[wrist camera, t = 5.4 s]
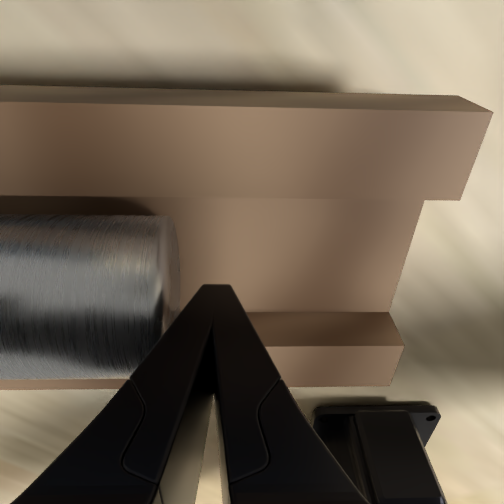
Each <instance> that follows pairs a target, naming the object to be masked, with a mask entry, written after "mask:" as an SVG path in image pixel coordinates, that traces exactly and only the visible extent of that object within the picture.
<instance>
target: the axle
mask: <svg viewBox="0 0 504 504" xmlns="http://www.w3.org/2000/svg"><path fill="white" fill-rule="evenodd" d="M179 311H180V259H179V248H178V240H177V234H176V229H175V225H174V223H173V220H172V218H171V217H170V216H134V215H43V214H0V380H37V379H129V377H130V376H131V374H132V373H133V372H134V371H135V369H136V368H137V367H138V365H139V364H140V363H141V362H142V360H143V359H144V358H145V357H146V355H147V354H148V353H149V352H150V350H151V349H152V348H153V346H154V345H155V344H156V343H157V341H158V340H159V339H160V338H161V336H162V335H163V334H164V333H165V331H166V330H167V329H168V327H169V326H170V325H171V324H172V322H173V321H174V320H175V319H176V317H177V316H178V315H179Z"/></svg>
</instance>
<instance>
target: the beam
mask: <svg viewBox="0 0 504 504" xmlns="http://www.w3.org/2000/svg"><path fill="white" fill-rule="evenodd" d="M492 115H493V112H492V111H490V110H488V109H485V108H483V107H481V106H479V105H477V104H475V103H473V102H471V101H468V100H466V99H464V98H462V97H460V96H453V95H411V94H368V93H326V92H283V91H241V90H198V89H156V88H113V87H71V86H28V85H0V214H43V215H134V216H170V217H171V218H172V220H173V223H174V225H175V229H176V234H177V240H178V248H179V259H180V311H179V314H180V312H181V311H182V310H183V308H184V307H185V306H186V305H187V303H188V302H189V301H190V300H191V298H192V297H193V296H194V295H195V293H196V292H197V291H198V289H199V288H200V287H201V286H202V285H203V284H230V285H231V286H232V288H233V289H234V291H235V293H236V295H237V297H238V299H239V300H240V302H241V304H242V306H243V308H244V309H245V311H246V313H247V315H248V317H249V319H250V320H251V322H252V324H253V326H254V328H255V330H256V331H257V333H258V335H259V337H260V339H261V340H262V342H263V344H264V346H265V348H266V350H267V351H268V353H269V355H270V357H271V359H272V361H273V362H274V364H275V366H276V368H277V370H278V371H279V373H280V375H281V377H282V380H284V382H285V384H286V386H287V387H337V386H390V383H391V381H392V378H393V375H394V373H395V370H396V367H397V365H398V362H399V360H400V357H401V354H402V352H403V349H404V346H405V345H404V343H403V341H402V339H401V337H400V335H399V333H398V331H397V329H396V326H395V324H394V322H393V320H392V318H391V316H390V314H389V309H390V306H391V303H392V300H393V297H394V294H395V291H396V288H397V284H398V281H399V278H400V275H401V272H402V269H403V266H404V263H405V259H406V256H407V253H408V250H409V247H410V244H411V241H412V238H413V235H414V231H415V228H416V225H417V222H418V219H419V216H420V213H421V210H422V206H423V203H424V200H460V199H461V196H462V194H463V191H464V188H465V186H466V183H467V180H468V178H469V175H470V173H471V170H472V167H473V165H474V162H475V159H476V157H477V154H478V152H479V149H480V146H481V144H482V141H483V138H484V136H485V133H486V130H487V128H488V125H489V123H490V120H491V117H492ZM126 380H128V379H37V380H0V390H44V389H120V388H121V387H122V385H123V384H124V383H125V382H126ZM129 380H130V379H129Z"/></svg>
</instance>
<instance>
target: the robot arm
mask: <svg viewBox="0 0 504 504" xmlns="http://www.w3.org/2000/svg"><path fill="white" fill-rule="evenodd" d="M129 379H130V380H129ZM129 379H128V380H126V382H125V383H124V384H123V385H122V387H121V388H120V389H119V391H118V392H117V393H116V394H115V396H114V397H113V398H112V399H111V400H110V401H109V403H108V404H107V405H106V406H105V407H104V409H103V410H102V411H101V412H100V413H99V414H98V415H97V416H96V418H95V419H94V420H93V421H92V422H91V423H90V424H89V425H88V426H87V427H86V428H85V429H84V430H83V431H82V433H81V434H80V435H79V436H78V437H77V438H76V439H75V440H74V441H73V442H72V443H71V444H70V445H69V446H68V447H67V448H66V449H65V450H64V451H63V452H62V453H61V454H60V455H59V456H58V457H57V458H56V459H55V460H54V461H53V462H52V463H51V464H50V465H49V466H48V467H47V468H46V469H45V470H44V472H43V473H42V474H41V475H40V476H39V477H38V478H37V479H36V480H35V481H34V482H33V483H32V484H31V485H30V486H29V487H28V488H27V489H26V490H25V491H24V492H23V493H22V494H21V495H20V496H18V497H17V498H16V499H15V500H14V501H13V502H12V503H10V504H195V500H196V494H197V489H198V483H199V477H200V471H201V465H202V459H203V453H204V448H205V442H206V436H207V430H208V424H209V418H210V413H211V407H212V401H213V395H214V400H215V413H216V425H217V438H218V451H219V463H220V476H221V489H222V501H223V504H447V501H446V499H445V496H444V494H443V491H442V489H441V486H440V484H439V482H438V479H437V477H436V474H435V472H434V469H433V467H432V465H431V462H430V460H429V457H428V455H427V452H426V450H425V448H424V447H425V446H426V444H427V442H428V440H429V438H430V436H431V435H432V433H433V431H434V429H435V427H436V425H437V424H438V422H439V420H440V418H441V415H440V413H439V411H438V409H437V407H435V406H432V405H421V406H342V407H319V408H317V409H315V410H314V412H313V415H312V420H311V425H310V423H309V422H308V420H307V419H306V417H305V416H304V414H303V413H302V411H301V410H300V408H299V406H298V405H297V403H296V401H295V400H294V398H293V396H292V395H291V393H290V391H289V389H288V388H287V386H286V384H285V382H284V380H282V377H281V375H280V373H279V371H278V370H277V368H276V366H275V364H274V362H273V361H272V359H271V357H270V355H269V353H268V351H267V350H266V348H265V346H264V344H263V342H262V340H261V339H260V337H259V335H258V333H257V331H256V330H255V328H254V326H253V324H252V322H251V320H250V319H249V317H248V315H247V313H246V311H245V309H244V308H243V306H242V304H241V302H240V300H239V299H238V297H237V295H236V293H235V291H234V289H233V288H232V286H231V285H230V284H203V285H202V286H201V287H200V288H199V289H198V291H197V292H196V293H195V295H194V296H193V297H192V298H191V300H190V301H189V302H188V303H187V305H186V306H185V307H184V308H183V310H182V311H181V312H180V314H179V315H178V316H177V317H176V319H175V320H174V321H173V322H172V324H171V325H170V326H169V327H168V329H167V330H166V331H165V333H164V334H163V335H162V336H161V338H160V339H159V340H158V341H157V343H156V344H155V345H154V346H153V348H152V349H151V350H150V352H149V353H148V354H147V355H146V357H145V358H144V359H143V360H142V362H141V363H140V364H139V365H138V367H137V368H136V369H135V371H134V372H133V373H132V374H131V376H130V377H129Z"/></svg>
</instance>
